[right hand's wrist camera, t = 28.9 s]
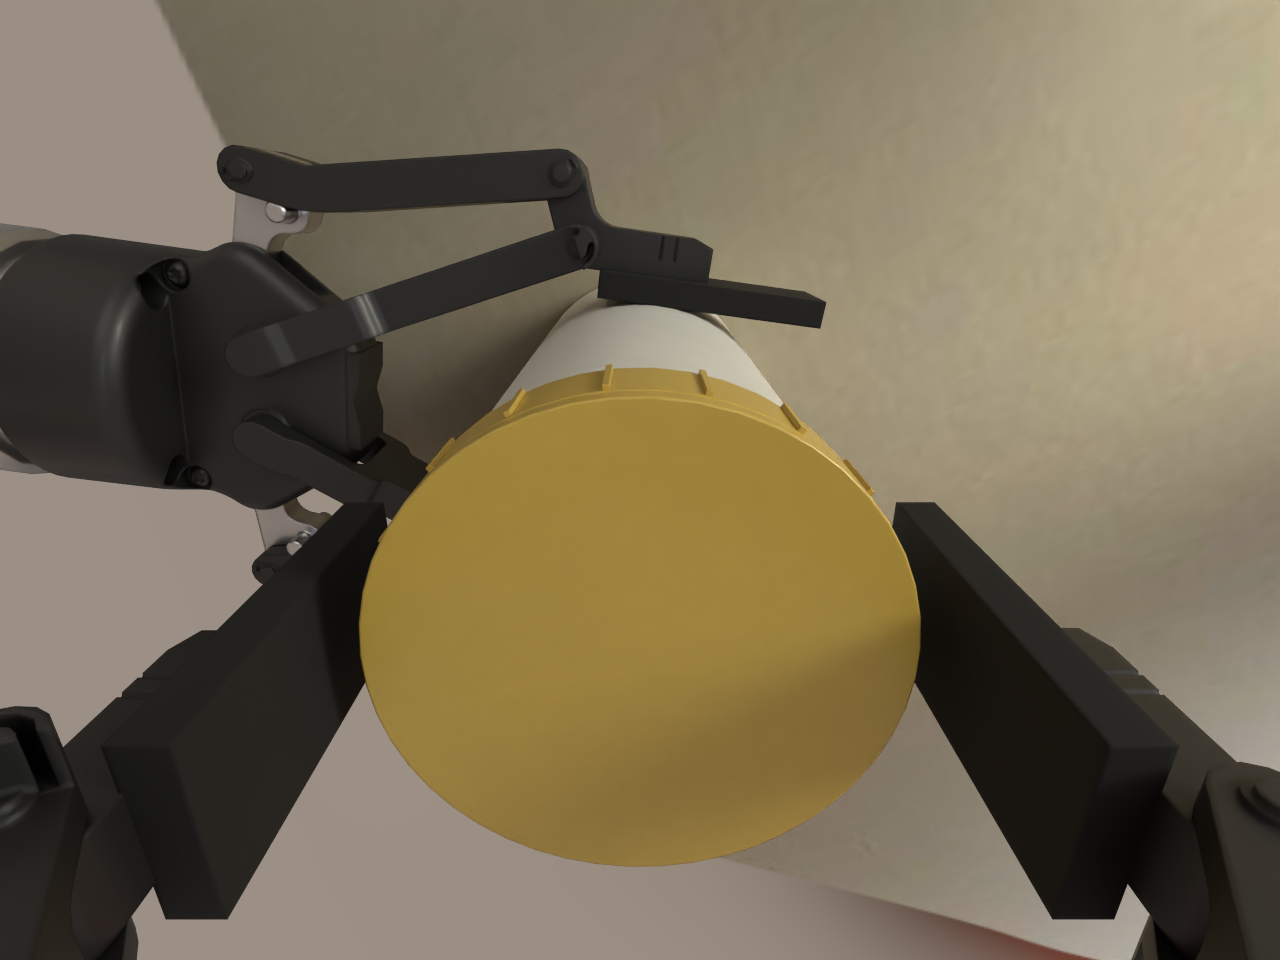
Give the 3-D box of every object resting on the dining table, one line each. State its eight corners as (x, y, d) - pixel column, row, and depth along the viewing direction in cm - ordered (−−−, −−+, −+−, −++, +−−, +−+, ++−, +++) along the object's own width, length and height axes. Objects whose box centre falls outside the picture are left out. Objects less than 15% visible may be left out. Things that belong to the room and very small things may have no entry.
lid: (967, 656, 13) (1018, 726, 11) (587, 850, 15) (580, 936, 13) (717, 247, 10) (733, 256, 8) (290, 550, 12) (231, 607, 10)
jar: (708, 493, 30) (793, 842, 14) (524, 451, 29) (373, 766, 13) (765, 307, 27) (963, 461, 11) (561, 255, 26) (427, 333, 10)
